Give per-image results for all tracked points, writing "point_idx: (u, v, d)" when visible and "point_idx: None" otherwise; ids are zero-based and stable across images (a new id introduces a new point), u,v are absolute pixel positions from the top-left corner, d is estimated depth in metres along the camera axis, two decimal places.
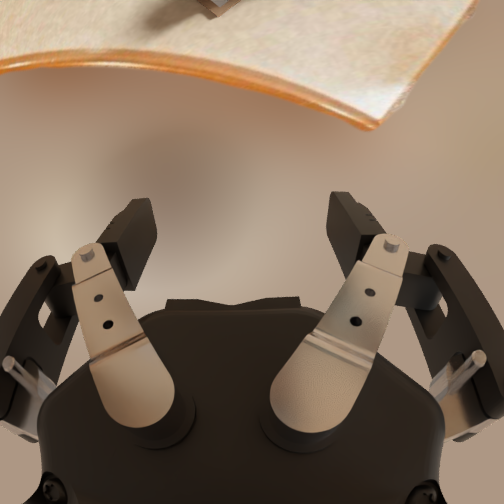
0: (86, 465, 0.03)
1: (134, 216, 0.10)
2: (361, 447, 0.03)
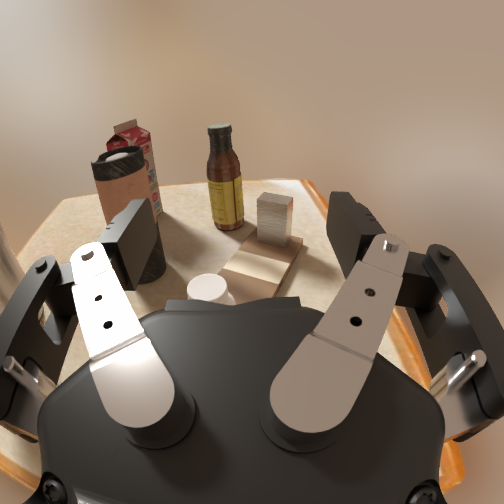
0: (86, 465, 0.03)
1: (134, 216, 0.10)
2: (361, 447, 0.03)
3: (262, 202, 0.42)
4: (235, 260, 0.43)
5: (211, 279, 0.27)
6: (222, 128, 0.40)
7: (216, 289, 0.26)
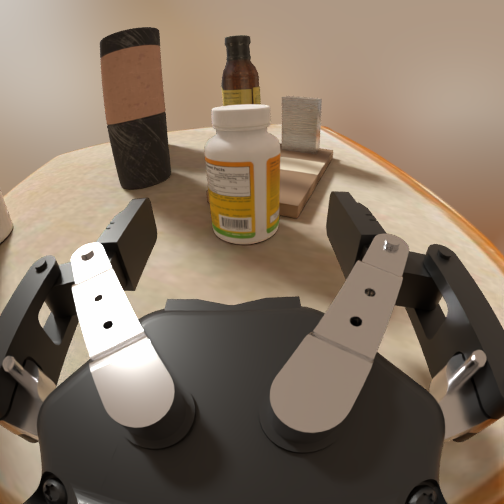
0: (86, 465, 0.03)
1: (134, 216, 0.10)
2: (361, 447, 0.03)
3: (287, 99, 0.32)
4: None
5: (246, 105, 0.17)
6: (241, 36, 0.31)
7: (255, 106, 0.16)
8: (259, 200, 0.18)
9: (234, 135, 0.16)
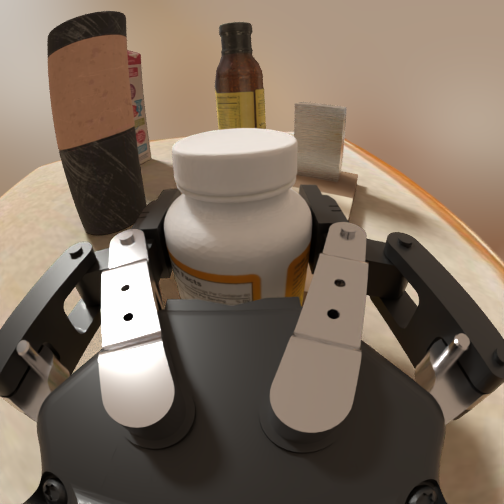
0: (75, 468, 0.03)
1: (169, 205, 0.10)
2: (361, 447, 0.03)
3: (303, 107, 0.24)
4: None
5: (245, 132, 0.09)
6: (240, 23, 0.23)
7: (266, 139, 0.08)
8: None
9: (219, 211, 0.08)
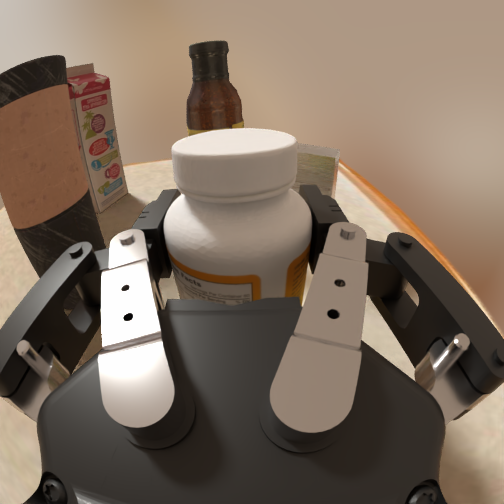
0: (76, 468, 0.03)
1: (169, 205, 0.10)
2: (361, 447, 0.03)
3: None
4: None
5: (245, 132, 0.09)
6: (213, 42, 0.20)
7: (266, 140, 0.08)
8: None
9: (218, 211, 0.08)
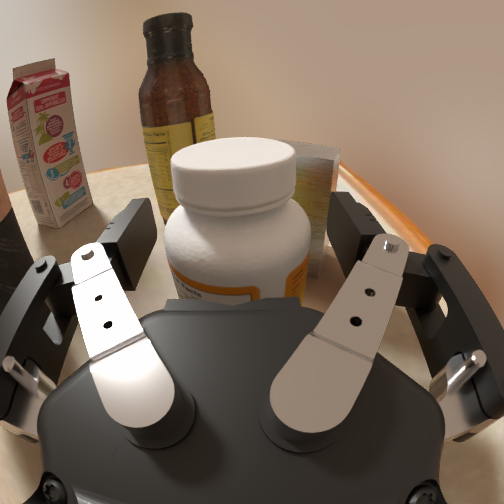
0: (86, 465, 0.03)
1: (134, 216, 0.10)
2: (361, 447, 0.03)
3: None
4: None
5: (244, 142, 0.09)
6: (169, 14, 0.13)
7: (265, 151, 0.08)
8: None
9: (217, 224, 0.08)
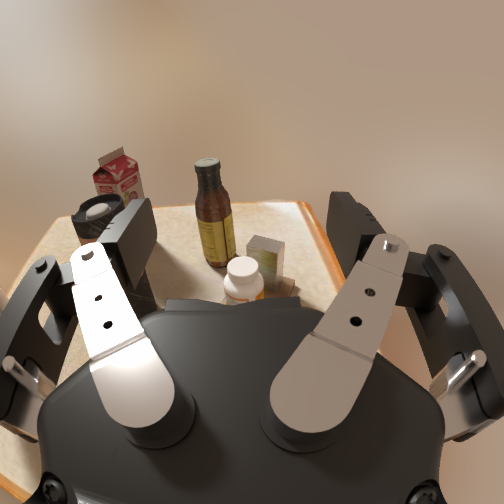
0: (86, 465, 0.03)
1: (134, 216, 0.10)
2: (361, 447, 0.03)
3: (251, 248, 0.40)
4: None
5: (245, 260, 0.35)
6: (209, 166, 0.39)
7: (250, 267, 0.34)
8: None
9: (239, 285, 0.34)
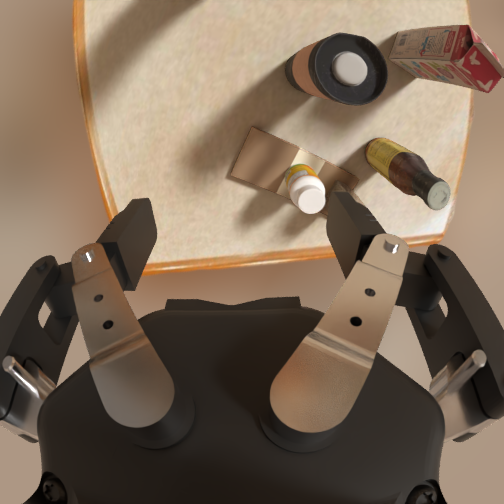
0: (86, 465, 0.03)
1: (134, 216, 0.10)
2: (361, 447, 0.03)
3: None
4: (309, 159, 0.43)
5: (318, 204, 0.37)
6: (426, 199, 0.27)
7: (308, 208, 0.37)
8: None
9: (298, 193, 0.38)
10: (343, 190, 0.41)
